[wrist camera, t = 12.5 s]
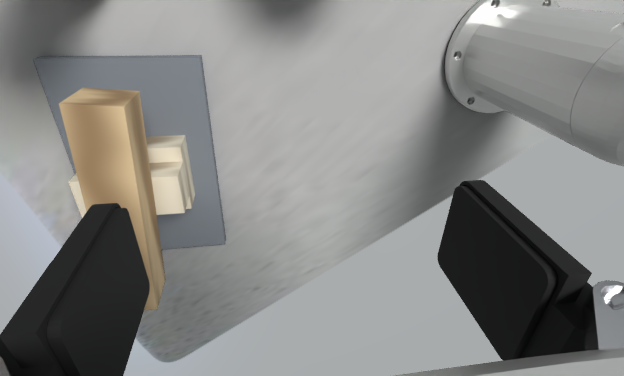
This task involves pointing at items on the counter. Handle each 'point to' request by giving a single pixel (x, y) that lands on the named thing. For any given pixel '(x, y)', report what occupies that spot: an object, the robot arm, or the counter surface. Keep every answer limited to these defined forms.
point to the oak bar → (116, 166)
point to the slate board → (154, 124)
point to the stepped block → (162, 176)
